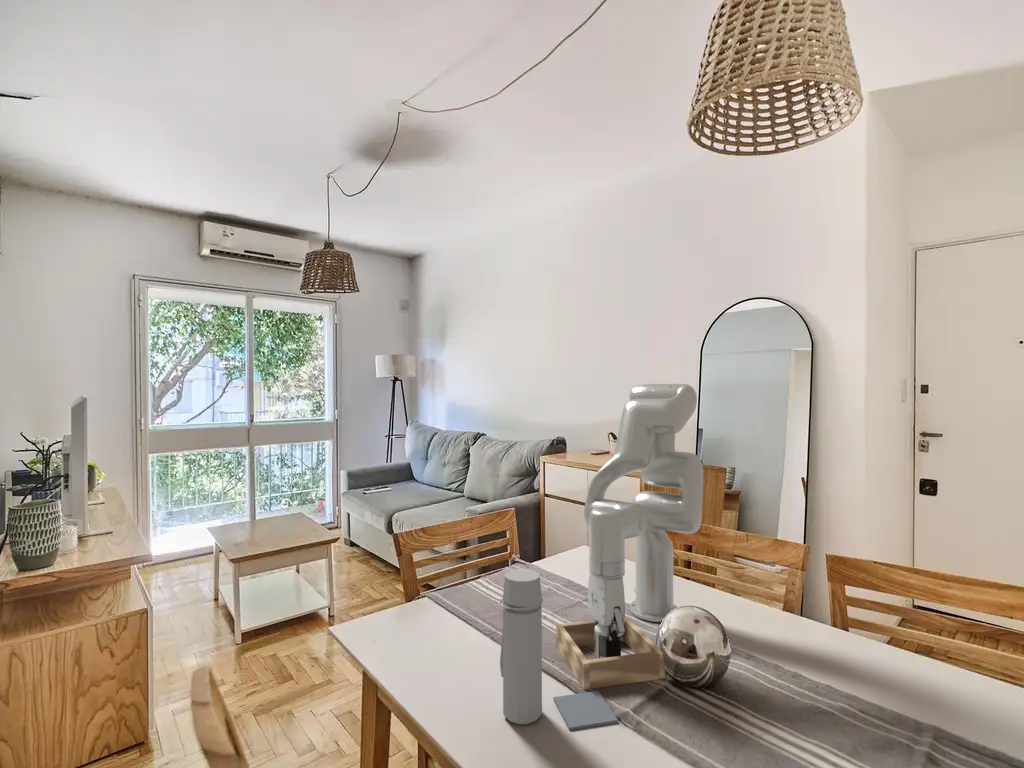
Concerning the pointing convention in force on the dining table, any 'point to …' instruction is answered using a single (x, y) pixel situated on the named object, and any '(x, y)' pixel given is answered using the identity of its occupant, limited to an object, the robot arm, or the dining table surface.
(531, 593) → the water bottle
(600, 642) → the pill bottle
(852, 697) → the dining table surface
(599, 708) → the rubber mat
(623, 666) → the oak crate
